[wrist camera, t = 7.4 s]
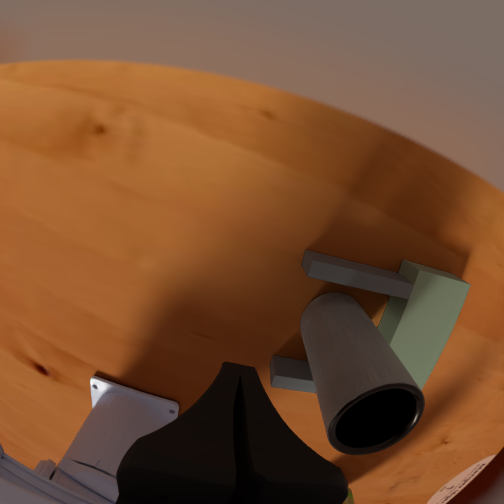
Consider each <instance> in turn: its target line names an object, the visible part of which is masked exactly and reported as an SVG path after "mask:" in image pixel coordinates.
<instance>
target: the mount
mask: <svg viewBox="0 0 504 504" xmlns="http://www.w3.org/2000/svg"><path fill="white" fill-rule="evenodd" d="M301 265H302V267H303V269H304V271H305V273H306V275H307V277H311V278H316V279H320V280H324V281H329V282H333V283H338V284H342V285H346V286H351V287H355V288H360V289H364V290H369V291H373V292H378V293H382V294H387V295H390V298H389V300H388V303H387V306H386V308H385V311H384V313H383V316H382V318H381V321H380V323H379V326H378V328H377V329H378V330H379V331H380V333H381V334H382V335H383V337H384V338H385V340H386V341H387V342H388V344H389V345H390V347H391V348H392V349H393V351H394V352H395V354H396V355H397V356H398V358H399V359H400V361H401V362H402V363H403V365H404V366H405V368H406V369H407V371H408V372H409V373H410V375H411V376H412V378H413V379H414V381H415V382H416V384H417V385H418V387H419V388H420V390H422V388H423V386H424V385H425V383H426V381H427V379H428V377H429V376H430V374H431V372H432V370H433V368H434V366H435V364H436V362H437V361H438V359H439V357H440V355H441V353H442V351H443V349H444V347H445V345H446V342H447V340H448V338H449V336H450V334H451V332H452V329H453V327H454V325H455V323H456V320H457V318H458V316H459V313H460V311H461V309H462V306H463V304H464V301H465V299H466V296H467V293H468V291H469V288H470V285H471V284H469V283H467V282H466V281H464V280H462V279H461V278H459V277H457V276H456V275H454V274H451V273H448V272H445V271H441V270H438V269H434V268H431V267H428V266H424V265H421V264H417V263H414V262H410V261H407V260H403V261H402V264H401V267H400V270H399V273H397V272H393V271H389V270H385V269H381V268H377V267H373V266H369V265H365V264H361V263H357V262H353V261H349V260H345V259H341V258H337V257H333V256H329V255H325V254H321V253H317V252H313V251H309V250H305V253H304V257H303V260H302V264H301ZM270 381H271V387H277V388H283V389H289V390H296V391H303V392H311V393H316V389H315V385H314V381H313V377H312V373H311V369H310V365H309V362H308V361H304V360H298V359H292V358H286V357H281V356H275V355H273V357H272V360H271V363H270Z"/></svg>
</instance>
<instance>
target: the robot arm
mask: <svg viewBox="0 0 504 504" xmlns="http://www.w3.org/2000/svg"><path fill="white" fill-rule="evenodd" d="M90 385H91V397H92V406H93V409H92V411H91V412H90V414H89V415H88V417H87V419H86V420H85V422H84V423H83V425H82V427H81V428H80V430H79V432H78V433H77V435H76V437H75V438H74V440H73V442H72V443H71V445H70V447H69V448H68V450H67V452H66V453H65V455H64V457H63V458H62V460H61V461H60V462H59V463H58V465H57V466H56V463H55V462H53V461H52V460H50V459H49V460H47V461H46V460H41V461H40V462H39V463H38V465H37V466H36V468H35V469H34V471H33V470H31V469H30V468H28V467H26V466H25V465H23V464H21V463H20V462H18V461H16V460H15V459H13V458H12V457H10V456H9V455H7V454H6V453H4V450H3V447H2V445H1V444H0V504H342V503H343V502H344V501H345V500H346V498H347V497H348V488H347V484H346V481H345V478H344V475H343V473H342V470H341V468H339V467H337V466H336V465H334V464H332V463H331V462H329V461H328V460H326V459H324V458H323V457H321V456H320V455H319V454H317V453H316V452H315V451H313V450H312V449H311V448H310V447H308V446H307V445H306V444H305V443H304V442H303V441H302V440H301V439H300V438H299V437H298V436H297V435H296V434H295V433H294V432H293V431H292V430H291V429H290V428H289V427H288V426H287V424H286V423H285V422H284V421H283V419H282V418H281V416H280V415H279V414H278V412H277V411H276V409H275V407H274V406H273V404H272V403H271V401H270V399H269V397H268V395H267V393H266V392H265V390H264V388H263V385H262V383H261V381H260V379H259V376H258V374H257V371H256V369H255V368H254V367H250V366H245V365H240V364H235V363H230V362H224V363H222V367H221V369H220V371H219V373H218V375H217V377H216V378H215V380H214V381H213V383H212V384H211V385H210V387H209V388H208V389H207V391H206V392H205V393H204V394H203V395H202V396H201V397H200V398H199V400H198V401H197V402H196V403H194V404H193V405H192V406H191V407H190V408H189V409H188V410H187V411H185V412H184V413H183V414H181V415H180V416H179V417H178V411H179V405H178V403H176V402H174V401H171V400H167V399H164V398H160V397H157V396H153V395H150V394H147V393H143V392H140V391H137V390H134V389H131V388H128V387H125V386H122V385H119V384H116V383H113V382H110V381H108V380H105V379H102V378H100V377H97V376H92V378H91V379H90ZM172 410H174V411H172ZM55 466H56V467H55Z"/></svg>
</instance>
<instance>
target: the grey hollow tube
mask: <svg viewBox="0 0 504 504" xmlns="http://www.w3.org/2000/svg"><path fill="white" fill-rule="evenodd" d="M300 329H301V335H302V339H303V342H304V346H305V350H306V354H307V358H308V362H309V365H310V369H311V373H312V377H313V381H314V385H315V389H316V393H317V397H318V401H319V405H320V409H321V413H322V417H323V421H324V425H325V430H326V434H327V437H328V441H329V443H330V444H331V445H332V447H334V448H335V449H336V450H338V451H340V452H342V453H345V454H350V455H365V454H371V453H375V452H378V451H381V450H384V449H386V448H388V447H390V446H392V445H394V444H396V443H397V442H399V441H400V440H401V439H403V438H404V437H405V436H406V435H408V434H409V433H410V432H411V431H412V430H413V428H414V427H415V426H416V425H417V423H418V422H419V420H420V418H421V416H422V414H423V411H424V406H425V399H424V395H423V393H422V391H421V390H420V388H419V387H418V385H417V384H416V382H415V381H414V379H413V378H412V376H411V375H410V373H409V372H408V371H407V369H406V368H405V366H404V365H403V363H402V362H401V361H400V359H399V358H398V356H397V355H396V354H395V352H394V351H393V349H392V348H391V347H390V345H389V344H388V342H387V341H386V340H385V338H384V337H383V335H382V334H381V333H380V331H379V330H378V329H377V327H376V326H375V325H374V323H373V322H372V320H371V319H370V318H369V316H368V315H367V314H366V312H365V311H364V310H363V308H362V307H361V306H360V304H359V303H358V302H357V301H356V300H355V299H354V298H352V297H351V296H349V295H347V294H344V293H340V292H332V293H326V294H323V295H321V296H319V297H317V298H315V299H314V300H313V301H312V302H310V303H309V305H308V306H307V307H306V308H305V310H304V312H303V314H302V317H301V321H300Z"/></svg>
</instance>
